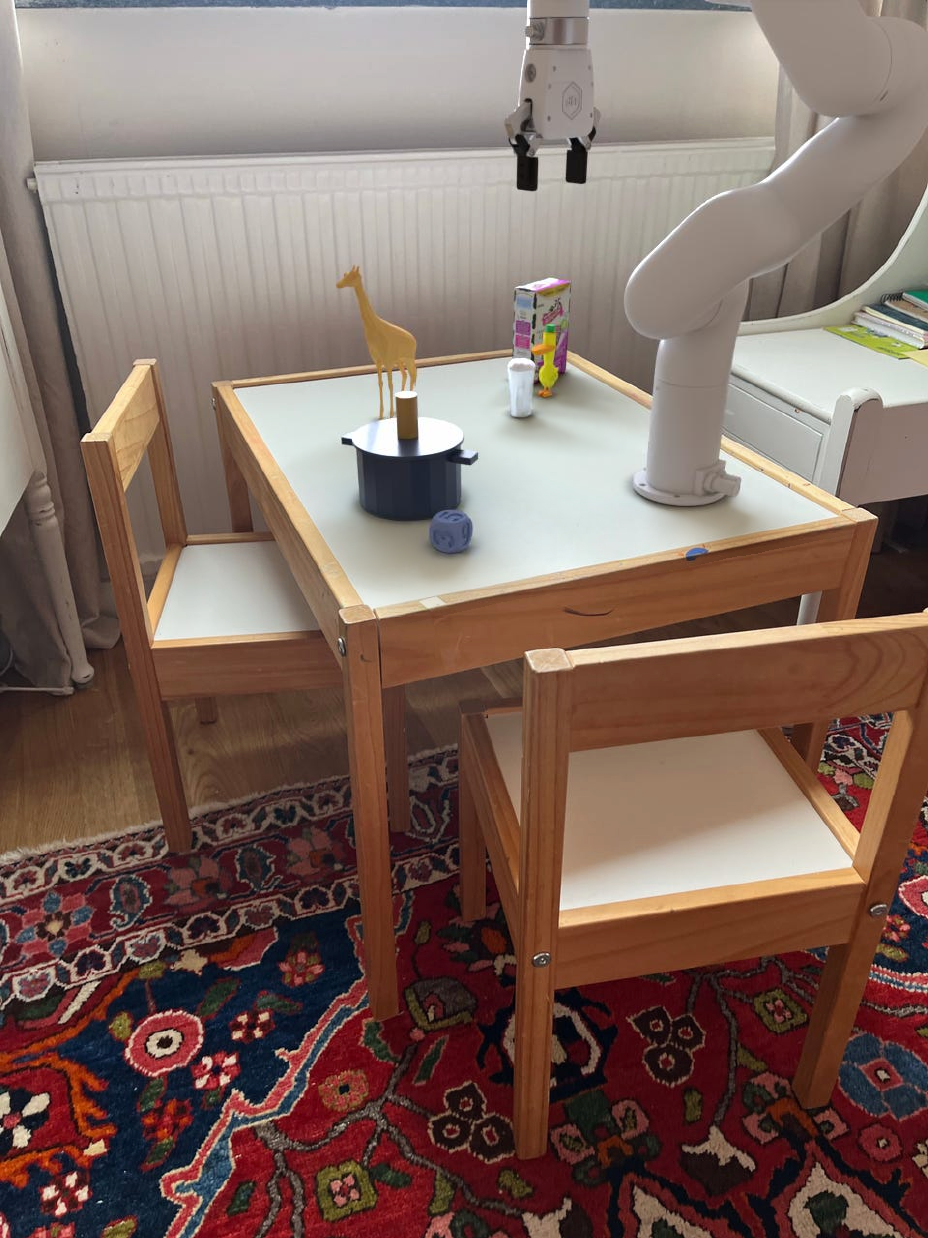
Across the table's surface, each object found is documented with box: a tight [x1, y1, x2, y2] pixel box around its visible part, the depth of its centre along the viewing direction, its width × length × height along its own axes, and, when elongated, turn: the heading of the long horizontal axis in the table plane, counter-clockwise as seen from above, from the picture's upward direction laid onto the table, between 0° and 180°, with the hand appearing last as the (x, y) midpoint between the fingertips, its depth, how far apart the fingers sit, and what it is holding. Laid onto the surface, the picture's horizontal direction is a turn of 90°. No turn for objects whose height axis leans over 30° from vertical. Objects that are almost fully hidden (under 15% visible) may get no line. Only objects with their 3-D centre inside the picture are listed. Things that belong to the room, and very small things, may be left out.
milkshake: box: [506, 355, 541, 418], centre depth 157 cm, size 5×5×10 cm
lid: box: [352, 390, 465, 460], centre depth 125 cm, size 15×15×7 cm
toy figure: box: [531, 324, 559, 398], centre depth 165 cm, size 7×4×12 cm, turn 133°
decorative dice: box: [428, 509, 474, 554], centre depth 117 cm, size 4×4×4 cm
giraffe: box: [335, 264, 418, 421], centre depth 151 cm, size 16×4×25 cm, turn 141°
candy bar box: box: [511, 277, 572, 384], centre depth 173 cm, size 11×5×16 cm, turn 141°
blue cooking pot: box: [340, 431, 479, 522], centre depth 128 cm, size 14×19×8 cm
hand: (551, 186), depth 128 cm, fingers open, 9 cm apart
